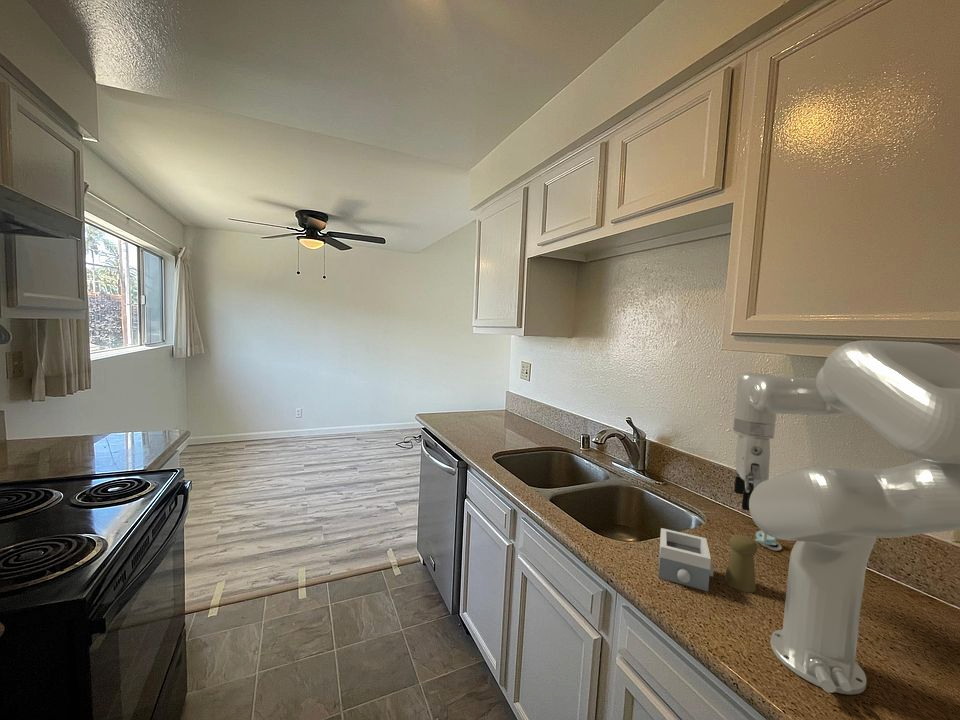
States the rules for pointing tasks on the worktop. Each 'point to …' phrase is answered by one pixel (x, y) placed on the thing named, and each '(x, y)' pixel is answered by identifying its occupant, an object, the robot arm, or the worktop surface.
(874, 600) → the worktop surface
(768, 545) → the pacifier
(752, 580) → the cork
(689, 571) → the grey plastic box
